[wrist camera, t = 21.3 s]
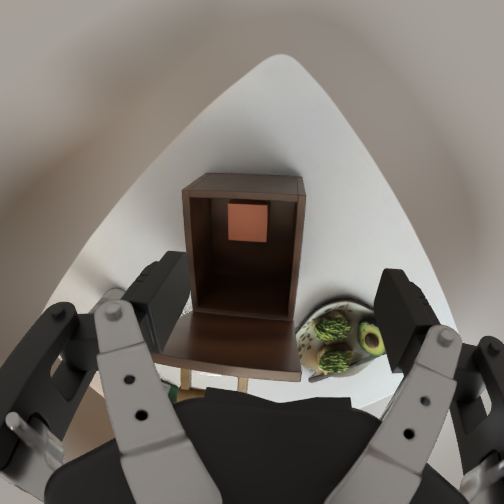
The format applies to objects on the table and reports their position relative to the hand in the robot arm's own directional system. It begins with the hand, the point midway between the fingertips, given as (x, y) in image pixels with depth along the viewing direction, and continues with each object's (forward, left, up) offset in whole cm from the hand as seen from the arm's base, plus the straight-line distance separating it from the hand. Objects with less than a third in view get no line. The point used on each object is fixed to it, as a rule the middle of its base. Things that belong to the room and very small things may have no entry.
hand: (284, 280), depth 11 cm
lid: (+10, -8, -10) cm, 17 cm away
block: (+4, -6, -26) cm, 27 cm away
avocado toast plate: (+30, +2, -27) cm, 40 cm away
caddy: (+7, -7, -27) cm, 29 cm away
